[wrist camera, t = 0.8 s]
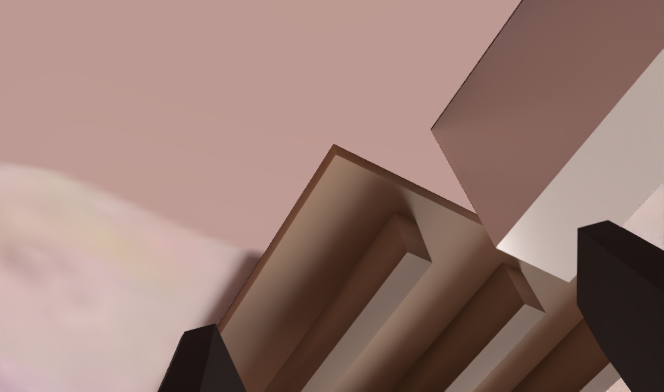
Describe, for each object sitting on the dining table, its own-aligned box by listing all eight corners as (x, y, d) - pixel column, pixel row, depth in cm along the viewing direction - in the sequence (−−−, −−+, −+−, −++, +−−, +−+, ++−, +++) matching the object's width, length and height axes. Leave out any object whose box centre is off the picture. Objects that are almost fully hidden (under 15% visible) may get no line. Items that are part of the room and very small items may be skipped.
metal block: (745, -179, 17) (1004, -182, 11) (486, 159, 22) (568, 282, 16) (686, -234, 16) (931, -270, 10) (430, 129, 21) (495, 247, 15)
